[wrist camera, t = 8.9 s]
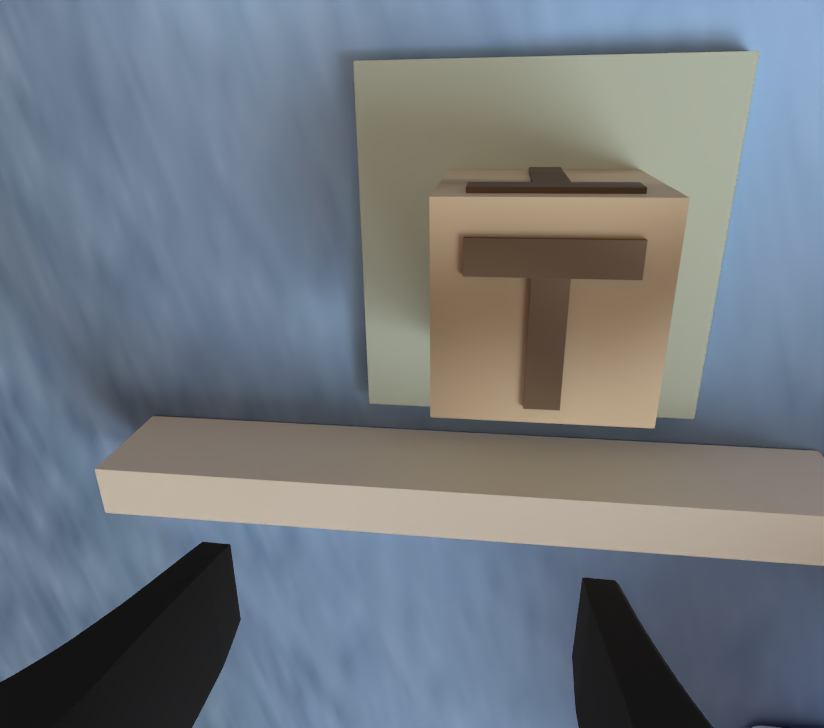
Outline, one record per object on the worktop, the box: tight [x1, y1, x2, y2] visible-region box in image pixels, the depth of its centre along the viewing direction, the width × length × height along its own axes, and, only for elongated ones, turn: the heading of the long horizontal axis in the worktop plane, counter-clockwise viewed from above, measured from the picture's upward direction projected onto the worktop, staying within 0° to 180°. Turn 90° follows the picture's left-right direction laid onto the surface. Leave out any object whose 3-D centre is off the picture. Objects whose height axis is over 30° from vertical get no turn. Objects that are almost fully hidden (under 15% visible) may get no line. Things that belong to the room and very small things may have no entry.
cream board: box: [95, 416, 824, 566], centre depth 20 cm, size 2×22×4 cm, turn 91°
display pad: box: [353, 51, 760, 419], centre depth 18 cm, size 10×10×1 cm
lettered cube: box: [429, 167, 690, 429], centre depth 16 cm, size 5×5×5 cm
